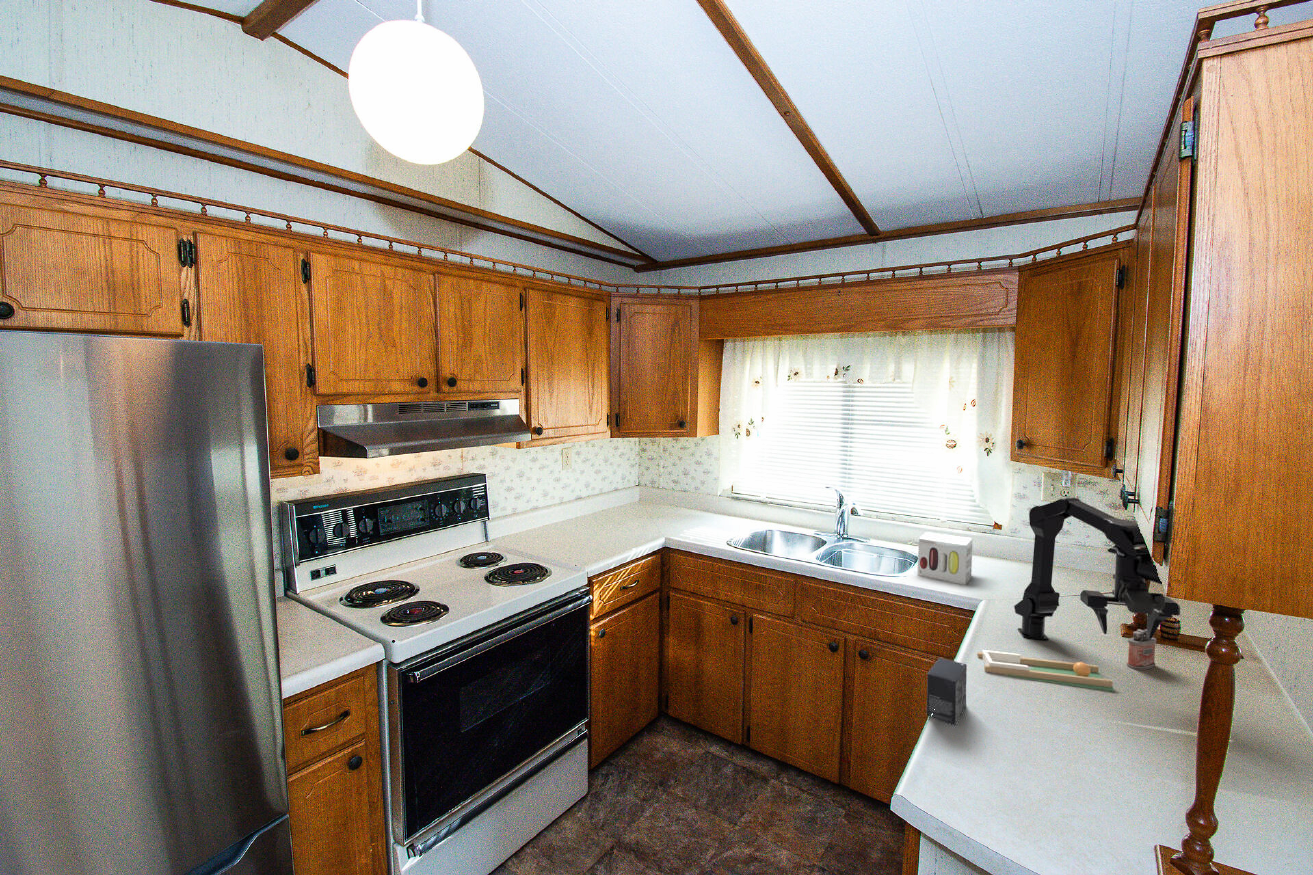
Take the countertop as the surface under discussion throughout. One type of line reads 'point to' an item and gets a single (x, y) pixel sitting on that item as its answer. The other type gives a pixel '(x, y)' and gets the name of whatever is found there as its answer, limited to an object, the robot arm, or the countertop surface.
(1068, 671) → the track
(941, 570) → the supplement box
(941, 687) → the small box
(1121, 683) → the countertop surface
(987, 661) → the white u-shaped frame
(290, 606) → the countertop surface
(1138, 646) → the lighter
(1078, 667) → the ball
